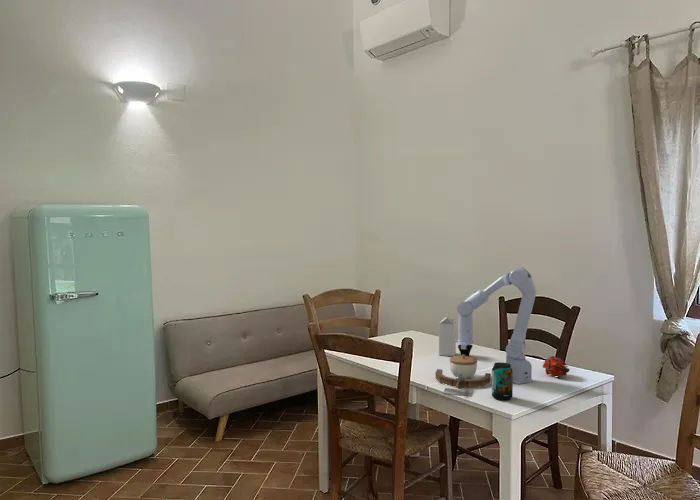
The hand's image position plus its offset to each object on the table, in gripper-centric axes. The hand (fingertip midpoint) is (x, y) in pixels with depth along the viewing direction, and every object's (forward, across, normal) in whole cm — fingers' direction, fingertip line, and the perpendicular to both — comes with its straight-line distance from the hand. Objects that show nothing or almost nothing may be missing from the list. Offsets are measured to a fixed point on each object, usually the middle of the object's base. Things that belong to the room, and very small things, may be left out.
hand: (465, 362), depth 215 cm
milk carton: (+5, -30, -11) cm, 32 cm away
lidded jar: (+5, +7, 0) cm, 8 cm away
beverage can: (+5, +27, +16) cm, 31 cm away
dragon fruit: (+5, -7, +35) cm, 36 cm away
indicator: (+2, +22, 0) cm, 22 cm away
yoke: (+4, +17, 0) cm, 18 cm away
